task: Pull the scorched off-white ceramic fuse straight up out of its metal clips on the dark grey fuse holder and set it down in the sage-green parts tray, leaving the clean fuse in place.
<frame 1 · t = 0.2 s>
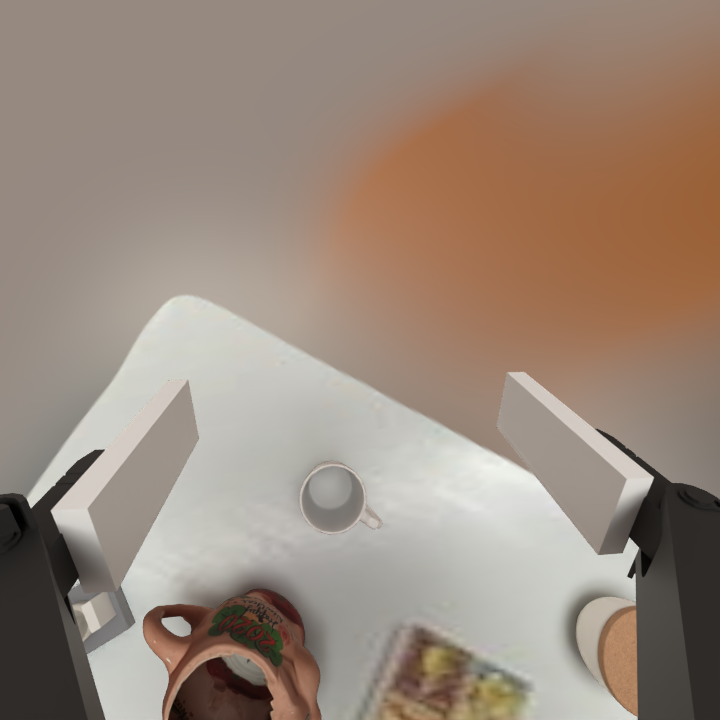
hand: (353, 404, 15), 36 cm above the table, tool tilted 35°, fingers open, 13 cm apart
decorative planter: (250, 626, 44), on the table
fuse holder: (54, 634, 42), on the table
lidded jar: (596, 628, 48), on the table
mug: (340, 491, 48), on the table
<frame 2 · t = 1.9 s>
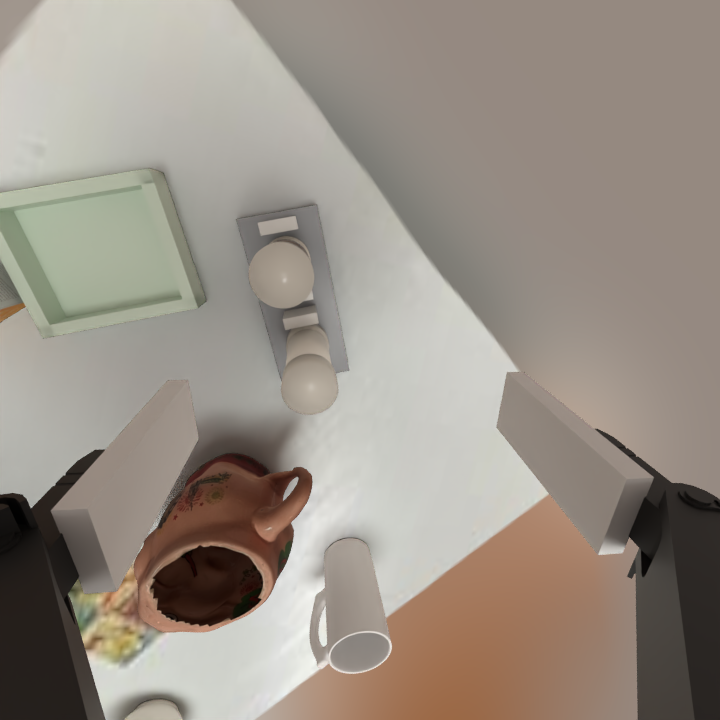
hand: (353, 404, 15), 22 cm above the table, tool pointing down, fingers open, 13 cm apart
decorative planter: (242, 475, 42), on the table
fuse holder: (298, 298, 36), on the table
lidded jar: (157, 709, 55), on the table
blown fuse: (288, 259, 33), point 1 cm above the table, touching fuse holder
parts tray: (111, 254, 32), on the table
mug: (337, 560, 49), on the table
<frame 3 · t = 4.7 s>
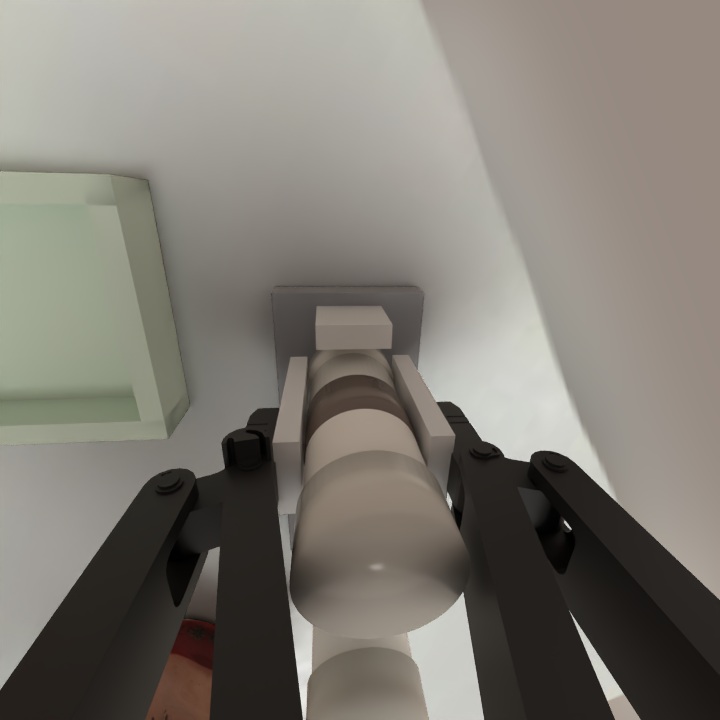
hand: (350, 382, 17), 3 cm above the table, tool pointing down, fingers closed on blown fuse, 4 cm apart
decorative planter: (200, 641, 27), on the table
fuse holder: (346, 424, 21), on the table
blown fuse: (348, 372, 18), point 1 cm above the table, touching fuse holder, gripper
parts tray: (25, 308, 17), on the table
when the fingers open (3 cm above the table, at t = 10.8 s): blown fuse drops 1 cm, resting on parts tray.
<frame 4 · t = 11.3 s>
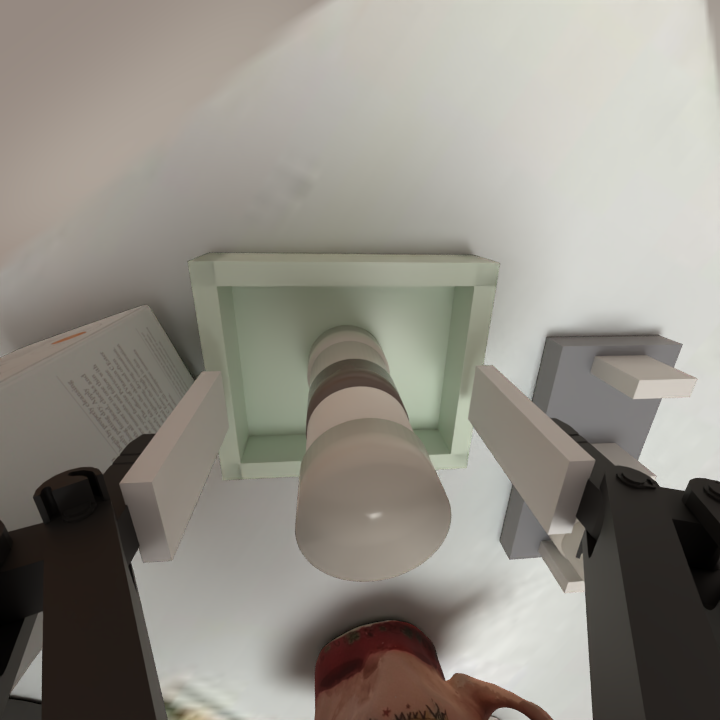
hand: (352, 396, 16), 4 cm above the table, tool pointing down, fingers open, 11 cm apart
decorative planter: (391, 640, 31), on the table
fuse holder: (570, 450, 24), on the table
blown fuse: (346, 360, 19), point 1 cm above the table, touching parts tray
parts tray: (345, 357, 20), on the table
small box: (120, 379, 19), on the table, touching hand
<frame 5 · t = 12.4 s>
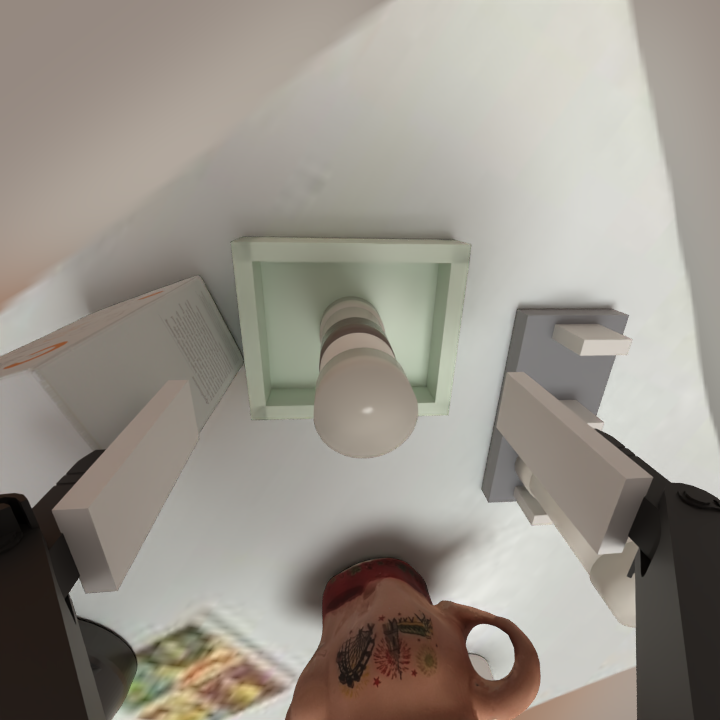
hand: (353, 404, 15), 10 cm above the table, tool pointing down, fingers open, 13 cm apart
decorative planter: (388, 578, 35), on the table
fuse holder: (540, 408, 28), on the table
blown fuse: (350, 326, 24), point 1 cm above the table, touching parts tray
parts tray: (350, 323, 24), on the table
small box: (172, 337, 24), on the table
mug: (448, 671, 43), on the table
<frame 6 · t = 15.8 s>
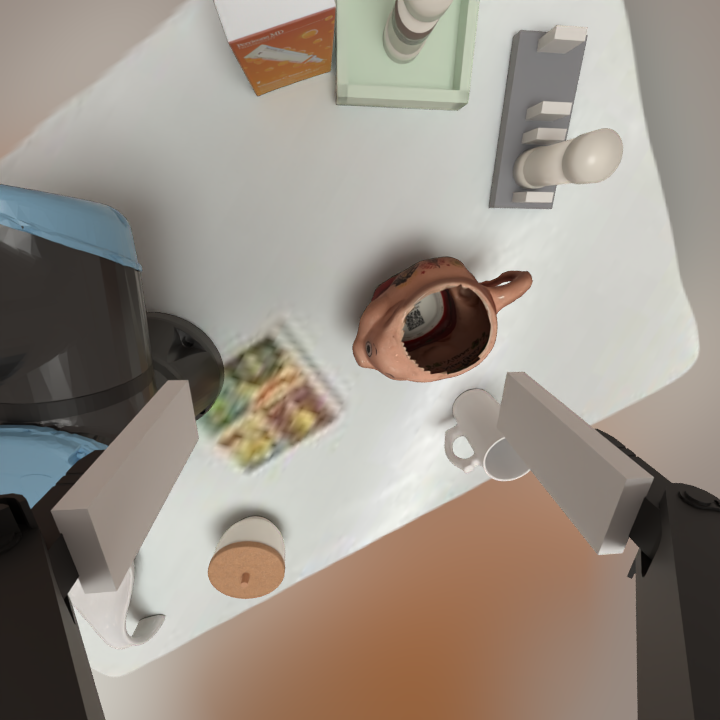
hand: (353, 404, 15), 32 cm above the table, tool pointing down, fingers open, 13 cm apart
decorative planter: (418, 298, 47), on the table
fuse holder: (530, 130, 40), on the table
grey curved piece: (124, 573, 60), on the table
lidded jar: (255, 529, 59), on the table
blown fuse: (402, 38, 35), point 1 cm above the table, touching parts tray
parts tray: (401, 41, 36), on the table
small box: (283, 48, 36), on the table
mug: (462, 411, 54), on the table
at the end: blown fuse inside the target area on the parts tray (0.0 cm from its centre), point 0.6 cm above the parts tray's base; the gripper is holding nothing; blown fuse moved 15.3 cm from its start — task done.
